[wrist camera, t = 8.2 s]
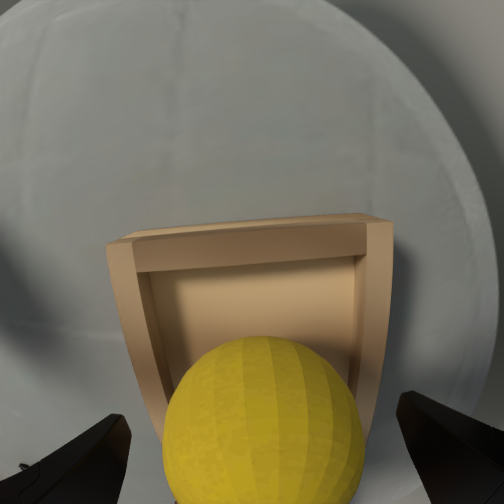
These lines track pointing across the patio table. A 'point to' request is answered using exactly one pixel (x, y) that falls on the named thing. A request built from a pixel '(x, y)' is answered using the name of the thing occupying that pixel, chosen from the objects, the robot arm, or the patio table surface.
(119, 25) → the patio table surface
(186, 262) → the wooden tray
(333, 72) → the patio table surface
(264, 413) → the lemon
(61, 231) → the patio table surface
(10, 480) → the robot arm
